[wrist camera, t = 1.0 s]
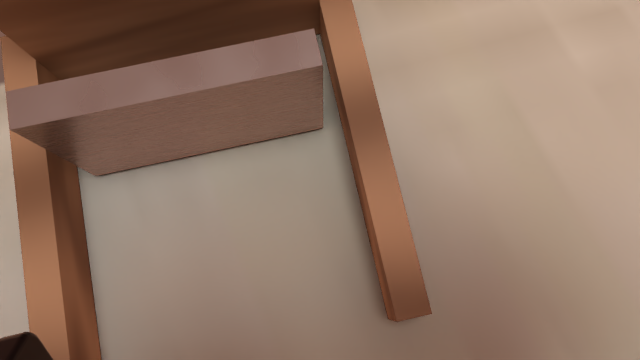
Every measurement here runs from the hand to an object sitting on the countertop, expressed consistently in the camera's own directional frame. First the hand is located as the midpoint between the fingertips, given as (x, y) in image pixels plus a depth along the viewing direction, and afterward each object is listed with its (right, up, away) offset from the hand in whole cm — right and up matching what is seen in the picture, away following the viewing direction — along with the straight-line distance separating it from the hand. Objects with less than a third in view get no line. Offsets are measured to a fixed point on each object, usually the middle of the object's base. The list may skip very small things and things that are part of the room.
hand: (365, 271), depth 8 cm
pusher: (-5, +3, +14) cm, 16 cm away
